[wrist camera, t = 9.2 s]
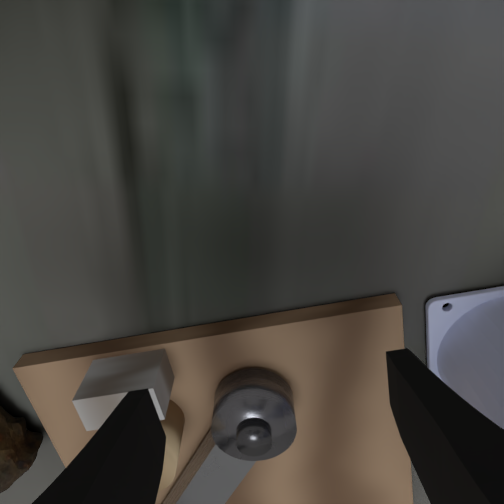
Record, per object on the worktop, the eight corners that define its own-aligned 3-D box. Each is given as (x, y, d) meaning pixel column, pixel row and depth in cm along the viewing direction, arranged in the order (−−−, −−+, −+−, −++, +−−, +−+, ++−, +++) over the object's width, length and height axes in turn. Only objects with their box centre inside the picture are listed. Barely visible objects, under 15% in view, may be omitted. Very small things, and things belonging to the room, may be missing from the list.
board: (394, 293, 23) (423, 341, 19) (409, 529, 31) (432, 596, 27) (23, 354, 24) (-20, 409, 21) (130, 563, 33) (114, 631, 29)
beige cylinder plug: (175, 390, 24) (164, 439, 21) (191, 436, 25) (183, 489, 22) (114, 399, 24) (93, 450, 21) (133, 445, 26) (117, 498, 23)
